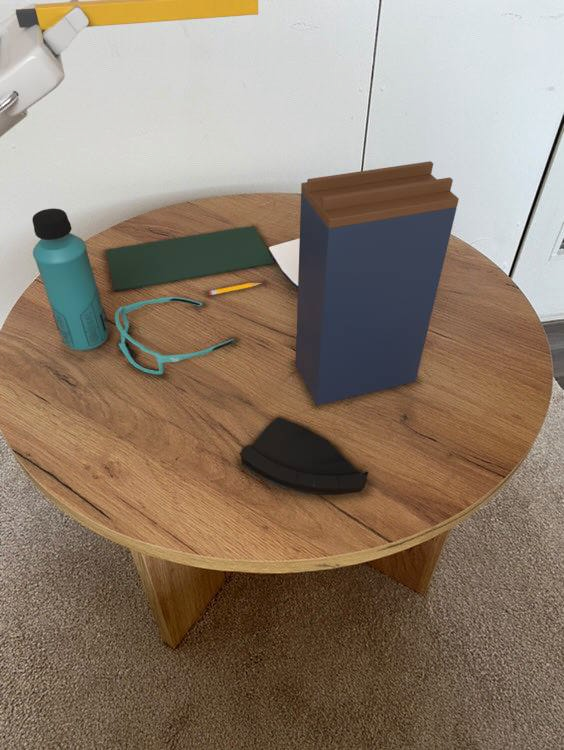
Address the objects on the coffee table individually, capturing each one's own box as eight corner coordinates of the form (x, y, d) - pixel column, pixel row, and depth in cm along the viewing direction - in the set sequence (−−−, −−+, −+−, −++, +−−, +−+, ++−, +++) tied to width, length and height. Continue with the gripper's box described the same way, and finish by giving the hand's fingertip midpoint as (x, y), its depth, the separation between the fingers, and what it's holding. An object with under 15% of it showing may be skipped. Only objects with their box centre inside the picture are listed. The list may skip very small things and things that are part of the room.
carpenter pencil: (20, 31, 61) (14, 9, 59) (20, 27, 62) (14, 5, 61) (258, 14, 67) (258, -6, 65) (253, 10, 68) (253, -10, 67)
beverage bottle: (116, 353, 80) (82, 222, 66) (66, 365, 78) (21, 233, 64) (108, 324, 84) (75, 196, 70) (61, 335, 83) (17, 206, 69)
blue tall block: (316, 406, 73) (330, 208, 54) (295, 364, 79) (301, 171, 60) (415, 381, 76) (461, 187, 57) (389, 343, 82) (423, 154, 63)
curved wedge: (338, 524, 61) (339, 515, 60) (236, 464, 67) (236, 455, 65) (376, 471, 66) (378, 462, 65) (278, 419, 72) (278, 410, 70)
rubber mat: (114, 291, 90) (114, 289, 90) (106, 251, 98) (105, 249, 98) (274, 263, 96) (274, 261, 96) (253, 227, 104) (253, 225, 104)
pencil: (208, 294, 90) (208, 290, 90) (261, 283, 92) (260, 279, 92) (210, 296, 90) (209, 293, 89) (262, 286, 92) (262, 282, 91)
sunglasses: (102, 331, 83) (98, 302, 80) (196, 305, 90) (196, 278, 87) (142, 390, 75) (139, 360, 71) (242, 357, 82) (244, 328, 78)
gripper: (-46, 95, 55) (67, 1, 53) (-34, 37, 69) (56, -38, 67) (8, 148, 59) (114, 64, 57) (9, 84, 73) (94, 14, 71)
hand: (82, 9), depth 62 cm, fingers closed on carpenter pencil, 2 cm apart
